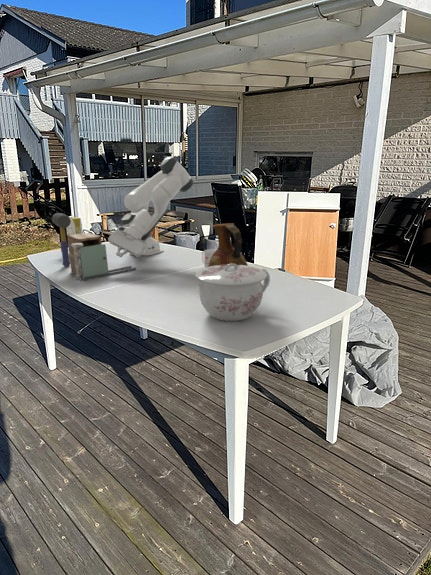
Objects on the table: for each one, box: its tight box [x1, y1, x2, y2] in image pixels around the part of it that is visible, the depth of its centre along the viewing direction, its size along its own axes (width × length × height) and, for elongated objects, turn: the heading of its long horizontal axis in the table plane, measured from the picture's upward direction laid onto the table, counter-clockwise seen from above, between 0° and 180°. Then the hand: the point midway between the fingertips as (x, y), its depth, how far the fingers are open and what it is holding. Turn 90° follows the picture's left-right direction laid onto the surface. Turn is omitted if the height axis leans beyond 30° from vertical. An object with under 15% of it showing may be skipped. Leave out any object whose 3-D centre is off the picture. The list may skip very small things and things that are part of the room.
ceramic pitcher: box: [208, 222, 249, 267], centre depth 189 cm, size 20×20×30 cm
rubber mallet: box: [51, 212, 71, 268], centre depth 223 cm, size 12×8×30 cm, turn 37°
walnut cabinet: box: [66, 232, 103, 282], centre depth 210 cm, size 16×18×20 cm
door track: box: [80, 265, 137, 282], centre depth 213 cm, size 30×5×1 cm, turn 133°
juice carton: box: [65, 215, 84, 236], centre depth 256 cm, size 9×8×24 cm
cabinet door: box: [78, 243, 109, 280], centre depth 206 cm, size 15×4×16 cm, turn 133°
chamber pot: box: [194, 263, 271, 322], centre depth 154 cm, size 28×28×21 cm
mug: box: [201, 248, 218, 268], centre depth 218 cm, size 12×9×11 cm
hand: (118, 255), depth 213 cm, fingers closed
